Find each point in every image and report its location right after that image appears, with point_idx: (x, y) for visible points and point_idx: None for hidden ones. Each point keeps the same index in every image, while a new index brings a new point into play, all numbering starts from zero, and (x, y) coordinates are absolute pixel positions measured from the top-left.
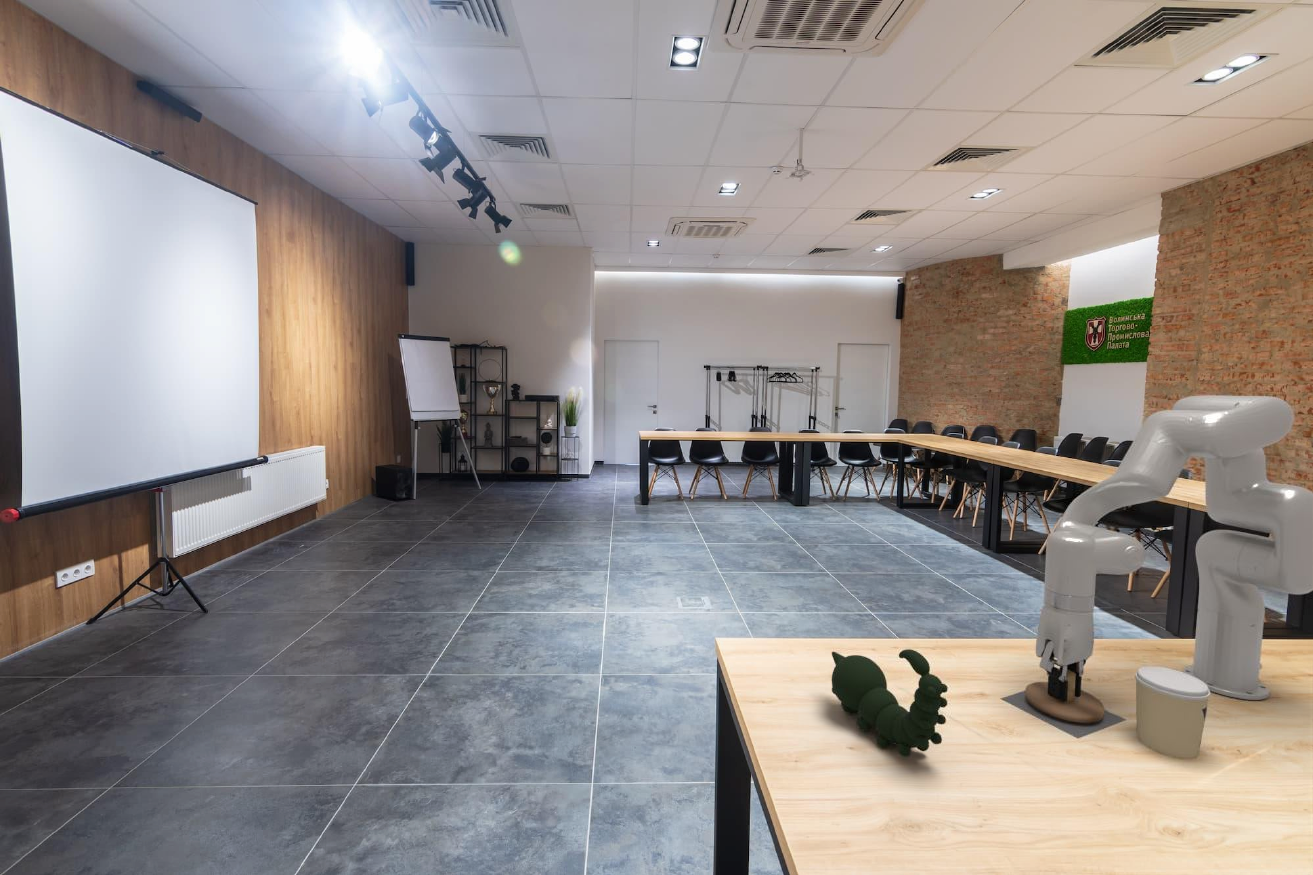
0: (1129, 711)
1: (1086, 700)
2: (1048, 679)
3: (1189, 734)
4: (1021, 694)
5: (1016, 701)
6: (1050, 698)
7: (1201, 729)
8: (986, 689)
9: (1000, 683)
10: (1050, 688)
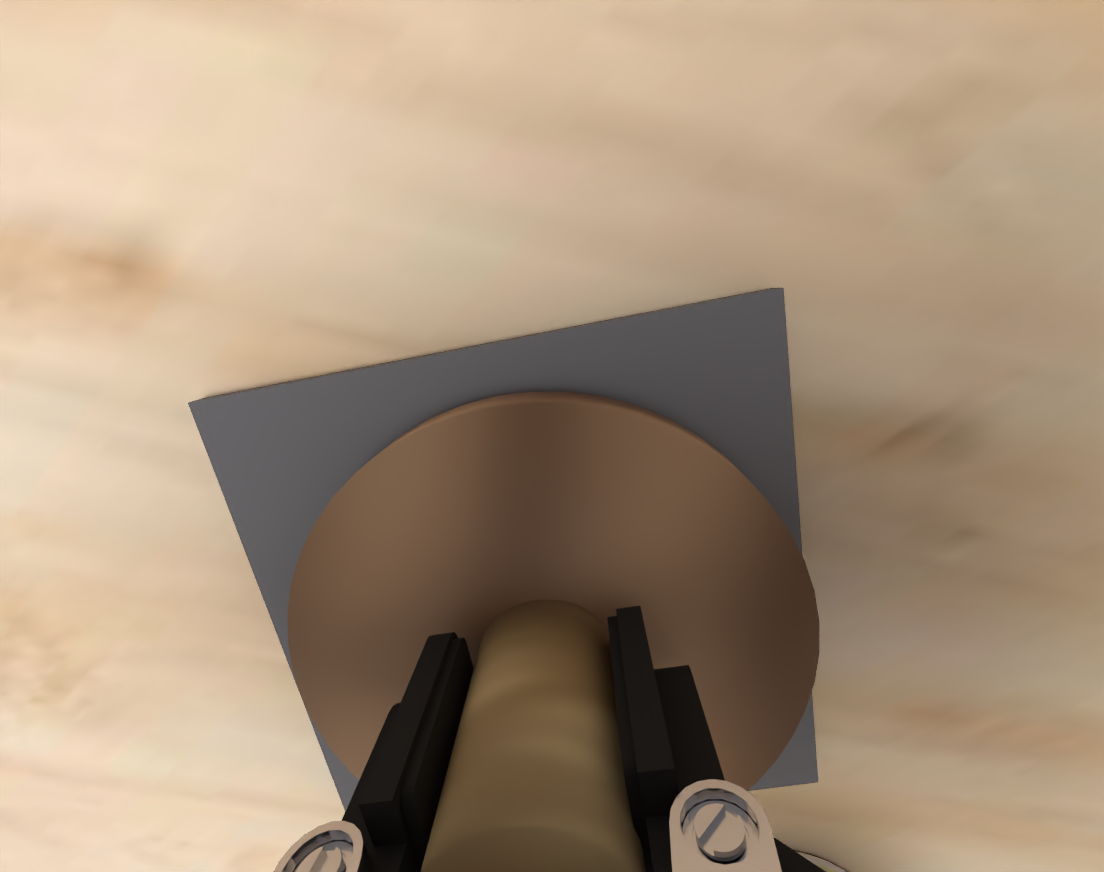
0: (980, 686)
1: None
2: (386, 743)
3: None
4: (402, 391)
5: (287, 465)
6: None
7: None
8: (213, 205)
9: (413, 135)
10: (382, 733)
